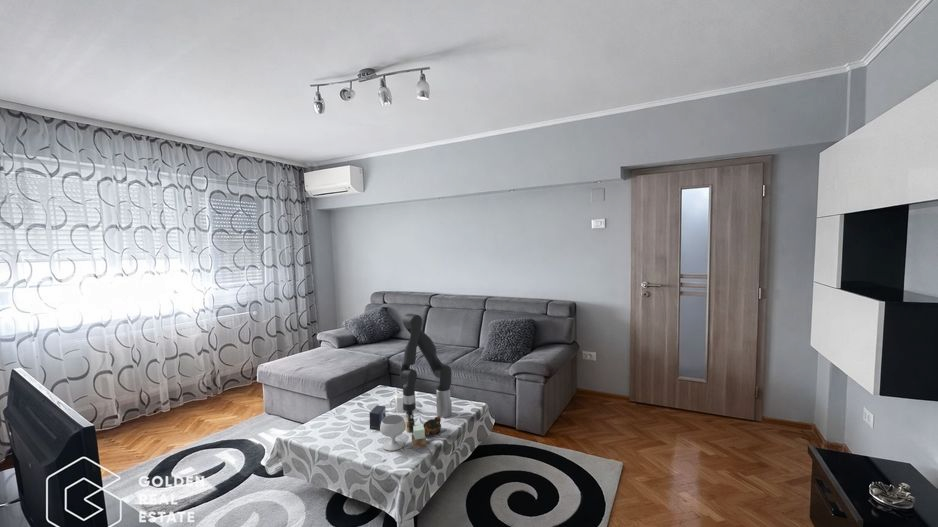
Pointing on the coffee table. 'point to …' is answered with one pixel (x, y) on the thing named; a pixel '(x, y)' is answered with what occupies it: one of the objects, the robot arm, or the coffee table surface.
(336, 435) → the coffee table surface
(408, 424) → the oak block
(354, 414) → the coffee table surface
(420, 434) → the tower cube
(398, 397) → the mug
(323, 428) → the coffee table surface
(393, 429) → the chalice
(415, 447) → the tower slab
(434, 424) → the decorative turtle
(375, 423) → the small box
